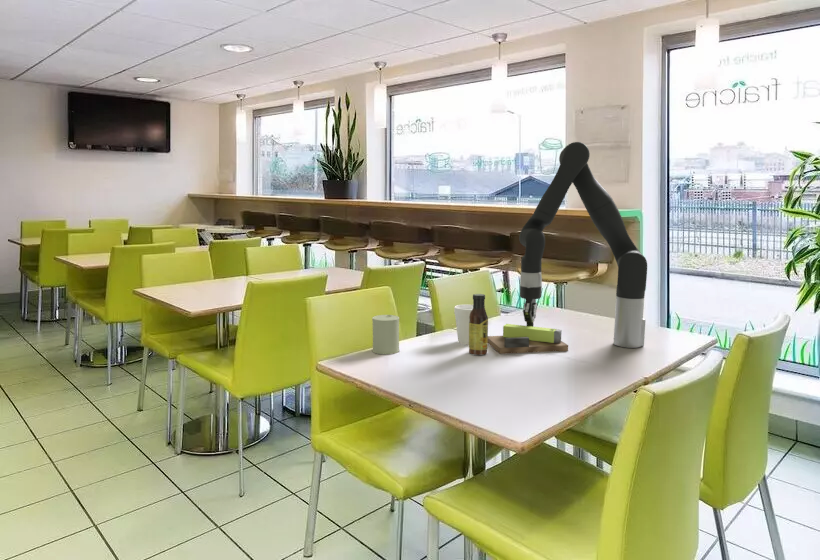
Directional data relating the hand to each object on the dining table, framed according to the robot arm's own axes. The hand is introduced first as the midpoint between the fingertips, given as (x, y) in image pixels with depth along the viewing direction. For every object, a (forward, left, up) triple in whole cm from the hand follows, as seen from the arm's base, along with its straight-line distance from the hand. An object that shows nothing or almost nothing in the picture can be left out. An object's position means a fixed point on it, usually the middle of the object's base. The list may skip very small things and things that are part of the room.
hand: (529, 331), depth 204 cm
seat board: (+3, +5, -4) cm, 7 cm away
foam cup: (+22, -3, -4) cm, 23 cm away
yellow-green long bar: (+1, +5, -1) cm, 5 cm away
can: (+52, +3, -4) cm, 53 cm away
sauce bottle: (+22, +11, -4) cm, 25 cm away
